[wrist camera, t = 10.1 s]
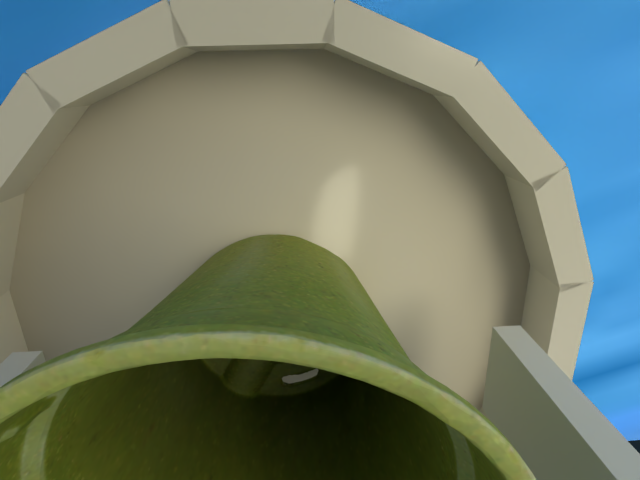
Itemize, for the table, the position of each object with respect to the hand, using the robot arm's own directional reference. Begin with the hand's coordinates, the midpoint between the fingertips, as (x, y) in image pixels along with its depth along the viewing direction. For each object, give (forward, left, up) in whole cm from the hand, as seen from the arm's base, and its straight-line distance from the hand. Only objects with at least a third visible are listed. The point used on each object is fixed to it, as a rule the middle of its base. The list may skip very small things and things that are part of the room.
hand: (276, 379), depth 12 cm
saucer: (0, 0, -4) cm, 4 cm away
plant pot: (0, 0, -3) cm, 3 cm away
